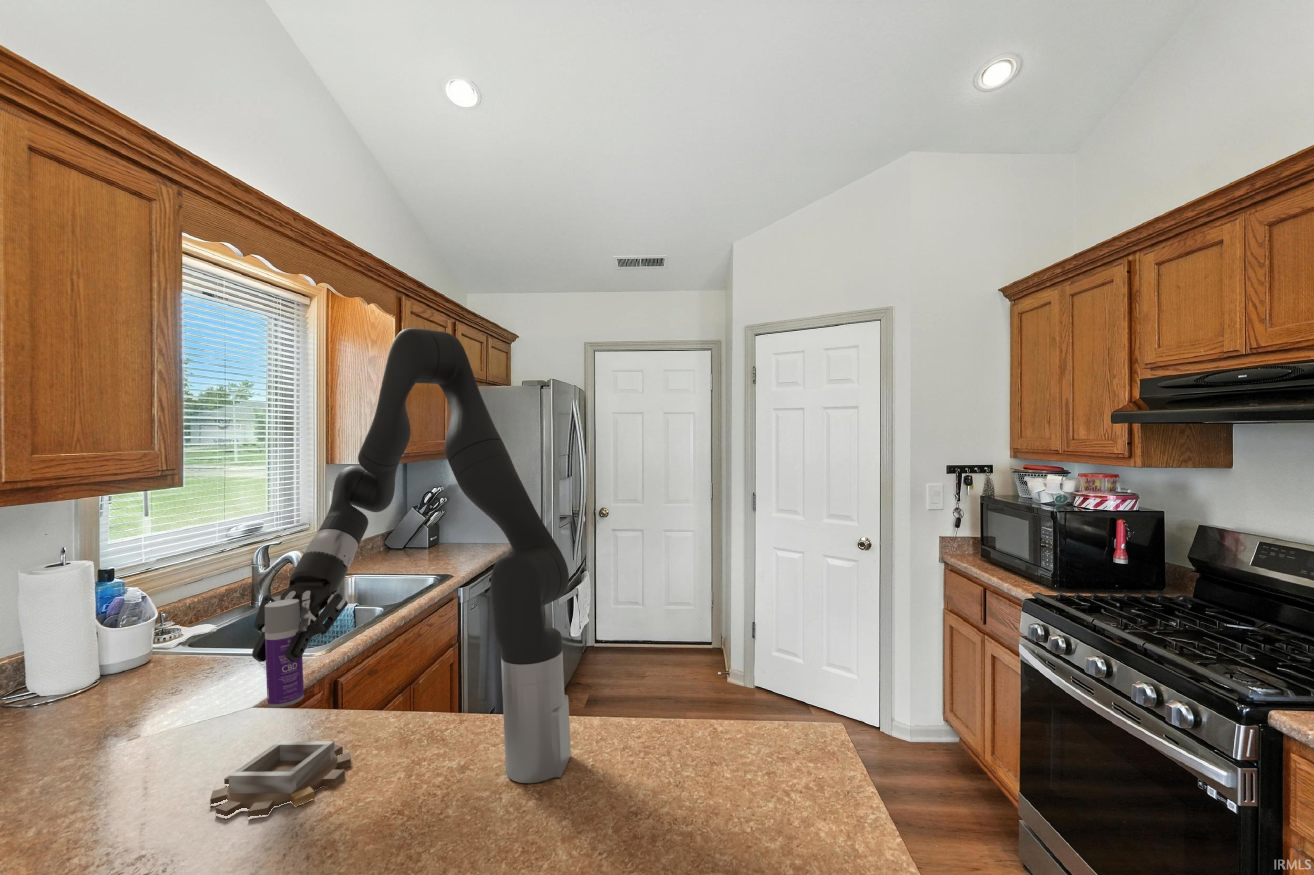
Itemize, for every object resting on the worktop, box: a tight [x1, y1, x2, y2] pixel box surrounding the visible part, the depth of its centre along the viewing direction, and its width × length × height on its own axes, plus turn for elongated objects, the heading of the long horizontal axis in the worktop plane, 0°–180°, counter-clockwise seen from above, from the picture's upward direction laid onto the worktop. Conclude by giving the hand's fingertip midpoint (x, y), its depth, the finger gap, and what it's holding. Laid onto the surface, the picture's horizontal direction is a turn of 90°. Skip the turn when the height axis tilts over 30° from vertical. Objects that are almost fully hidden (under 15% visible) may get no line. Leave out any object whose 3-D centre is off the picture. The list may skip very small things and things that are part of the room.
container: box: [265, 599, 305, 709], centre depth 87 cm, size 5×5×15 cm
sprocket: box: [209, 740, 352, 818], centre depth 86 cm, size 18×18×4 cm
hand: (274, 658), depth 85 cm, fingers closed on container, 4 cm apart
